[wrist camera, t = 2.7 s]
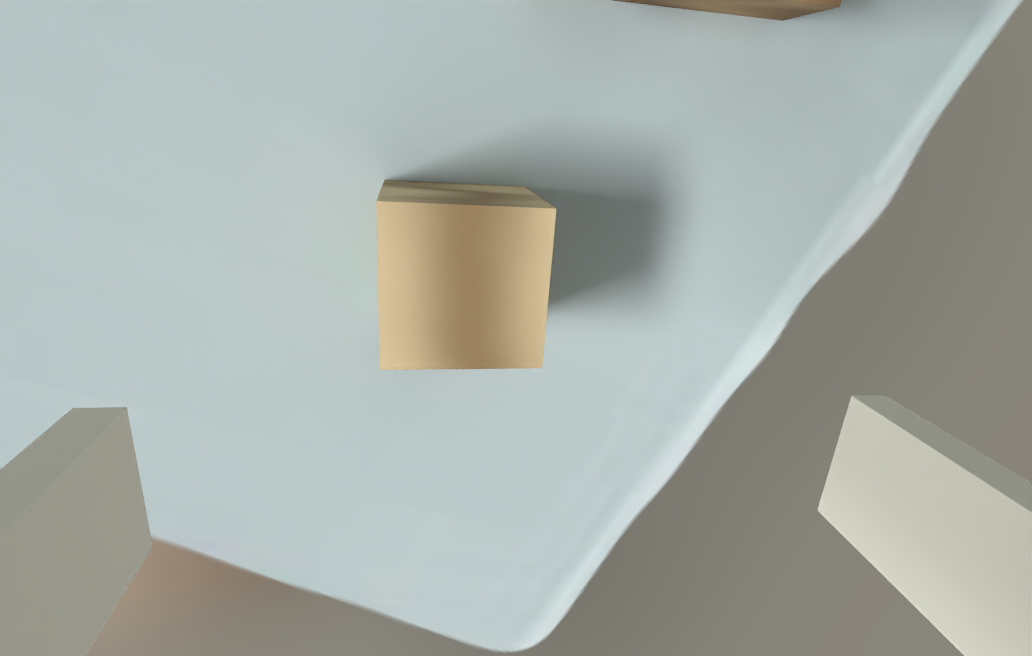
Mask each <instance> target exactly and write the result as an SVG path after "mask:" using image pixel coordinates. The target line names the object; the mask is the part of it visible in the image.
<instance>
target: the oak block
mask: <svg viewBox="0 0 1032 656" xmlns="http://www.w3.org/2000/svg"><path fill="white" fill-rule="evenodd" d="M376 205H377V257H378V308H379V360H380V370H411V369H505V368H542V364H543V353H544V342H545V331H546V320H547V309H548V298H549V287H550V275H551V264H552V253H553V242H554V231H555V220H556V208H555V207H553V206H552V205H551V204H549V203H548V202H546V201H545V200H543V199H542V198H541V197H539V196H538V195H536V194H535V193H533V192H532V191H530V190H529V189H528V188H526V187H520V186H499V185H478V184H458V183H437V182H416V181H395V180H384V183H383V186H382V188H381V191H380V193H379V196H378V198H377V201H376Z"/></svg>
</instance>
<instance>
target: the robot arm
mask: <svg viewBox="0 0 1032 656" xmlns="http://www.w3.org/2000/svg"><path fill="white" fill-rule="evenodd" d="M818 511H819V512H820V513H821V514H822V515H823V516H824V517H825V518H826V519H827V520H828V521H829V522H830V523H831V524H832V525H833V526H834V527H835V528H836V529H837V530H838V531H839V532H840V533H841V534H842V535H843V536H844V537H845V538H846V539H847V540H848V541H849V542H850V543H851V544H852V545H853V546H854V547H855V548H856V549H858V551H859V552H860V553H861V554H862V555H863V556H864V557H865V558H866V559H867V560H868V561H869V562H870V563H871V564H872V565H873V566H874V567H876V569H878V571H879V572H881V574H883V576H885V577H886V578H887V579H888V580H889V581H890V582H891V583H892V584H893V585H894V586H895V587H896V588H897V589H898V590H899V591H900V592H901V593H902V594H903V595H904V596H905V597H906V598H907V599H908V600H909V601H910V602H911V603H912V604H913V605H914V606H915V607H916V608H917V609H918V610H919V611H920V612H921V613H922V614H923V615H924V616H925V617H926V618H927V619H928V620H929V621H930V622H931V623H932V624H933V625H934V626H935V627H936V628H937V629H938V630H939V631H940V632H941V633H942V634H943V635H944V636H945V637H946V638H947V639H948V640H949V641H950V642H951V643H952V644H953V645H954V646H955V647H956V648H957V649H958V650H959V651H960V652H961V653H962V654H963V655H964V656H1032V483H1030V482H1029V481H1027V480H1025V479H1024V478H1022V477H1020V476H1018V475H1017V474H1015V473H1014V472H1012V471H1010V470H1009V469H1007V468H1005V467H1004V466H1002V465H1000V464H999V463H997V462H995V461H993V460H992V459H990V458H988V457H987V456H985V455H984V454H982V453H980V452H979V451H977V450H975V449H973V448H972V447H970V446H968V445H967V444H965V443H964V442H962V441H960V440H959V439H957V438H955V437H954V436H952V435H950V434H948V433H947V432H945V431H943V430H942V429H940V428H938V427H937V426H935V425H934V424H932V423H930V422H928V421H927V420H925V419H924V418H922V417H920V416H919V415H917V414H915V413H914V412H912V411H910V410H909V409H907V408H905V407H903V406H902V405H900V404H898V403H897V402H895V401H894V400H892V399H890V398H889V397H887V396H885V395H881V396H851V400H850V403H849V406H848V410H847V414H846V416H845V420H844V423H843V427H842V430H841V433H840V437H839V440H838V443H837V447H836V450H835V453H834V457H833V460H832V464H831V467H830V470H829V474H828V477H827V480H826V484H825V487H824V491H823V494H822V497H821V501H820V504H819V507H818ZM152 547H153V546H152V540H151V535H150V530H149V524H148V519H147V514H146V508H145V503H144V498H143V492H142V487H141V482H140V476H139V471H138V466H137V460H136V455H135V450H134V444H133V439H132V434H131V428H130V423H129V418H128V412H127V407H114V408H72V409H71V410H70V411H69V412H68V413H67V414H65V415H64V416H63V417H62V418H61V419H60V420H58V421H57V422H56V423H55V424H54V425H52V426H51V427H50V428H49V429H48V430H47V431H45V432H44V433H43V434H42V435H41V436H40V437H38V438H37V439H36V440H35V441H34V442H32V443H31V444H30V445H29V446H28V447H27V448H25V449H24V450H23V451H22V452H21V453H20V454H18V455H17V456H16V457H15V458H14V459H12V460H11V461H10V462H9V463H8V464H7V465H5V466H4V467H3V468H2V469H1V470H0V656H86V654H87V653H88V651H89V649H90V648H91V646H92V645H93V643H94V641H95V640H96V638H97V636H98V634H99V633H100V632H101V630H102V628H103V627H104V625H105V623H106V622H107V620H108V618H109V617H110V615H111V614H112V612H113V610H114V609H115V607H116V605H117V604H118V602H119V600H120V599H121V597H122V596H123V594H124V592H125V591H126V589H127V587H128V586H129V584H130V583H131V581H132V579H133V578H134V576H135V575H136V573H137V571H138V570H139V568H140V566H141V565H142V563H143V561H144V560H145V558H146V557H147V555H148V553H149V552H150V550H151V549H152Z"/></svg>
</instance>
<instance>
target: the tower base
mask: <svg viewBox="0 0 1032 656" xmlns="http://www.w3.org/2000/svg"><path fill="white" fill-rule="evenodd" d="M613 1H622V2H630V3H639V4H647V5H656V6H664V7H673V8H681V9H690V10H698V11H706V12H715V13H723V14H732V15H740V16H749V17H757V18H766V19H774V20H787V19H791V18H795V17H799V16H803V15H807V14H811V13H816V12H820V11H824V10H828V9H832V8H836V7H840V4H841V0H613Z"/></svg>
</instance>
